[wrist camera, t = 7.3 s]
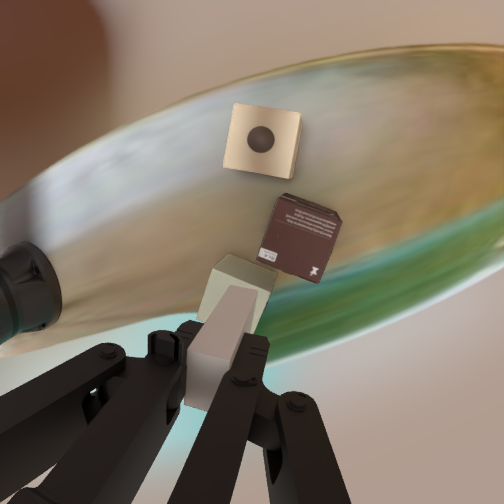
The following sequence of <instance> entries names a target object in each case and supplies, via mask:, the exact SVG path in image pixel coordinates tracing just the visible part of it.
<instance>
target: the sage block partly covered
mask: <svg viewBox="0 0 504 504" xmlns="http://www.w3.org/2000/svg"><path fill="white" fill-rule="evenodd" d="M277 274H278V273H276V272H273V271H271V270H268V269H266V268H263V267H261V266H258V265H256V264H254V263H251V262H249V261H246V260H244V259H241V258H239V257H236V256H234V255H232V254H229V253H228V254H227V255H226V256H225V257H224V258H223V259H222V260H221V261H220V262H219V263H217V264H216V265H215V266H214V267H213V268H212V271H211V274H210V277H209V280H208V283H207V286H206V289H205V293H204V296H203V299H202V302H201V305H200V308H199V311H198V314H197V317H196V319H197V320H199V321H201V322H204V323H205V322H206V320H207V319H208V317H209V316H210V314H211V313H212V311H213V310H214V308H215V307H216V305H217V304H218V302H219V301H220V299H221V298H222V296H223V295H224V293H225V292H226V290H227V289H228V287H229V286H230V285H234V286H239V287H243V288H248V289H253V290H258V294H257V300H256V305H255V311H254V316H253V322H252V327H251V332H250V334H253V333H254V331H255V329H256V326H257V324H258V322H259V319H260V317H261V315H262V312H264V310H265V308H266V305H267V303H268V302H267V301H268V298H269V296H270V294H271V291H272V288H273V285H274V283H275V280H276V277H277Z"/></svg>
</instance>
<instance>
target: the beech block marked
mask: <svg viewBox="0 0 504 504" xmlns="http://www.w3.org/2000/svg"><path fill="white" fill-rule="evenodd" d="M302 124H303V123H302V117H301V113H297V112H292V111H286V110H280V109H273V108H267V107H260V106H252V105H244V104H235V103H234V107H233V112H232V117H231V122H230V128H229V133H228V139H227V144H226V150H225V156H224V161H223V167H225V168H231V169H237V170H243V171H249V172H254V173H260V174H265V175H271V176H276V177H281V178H286V179H292V178H293V173H294V168H295V163H296V157H297V152H298V146H299V141H300V136H301V130H302Z"/></svg>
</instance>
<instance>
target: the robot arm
mask: <svg viewBox="0 0 504 504" xmlns="http://www.w3.org/2000/svg"><path fill="white" fill-rule="evenodd" d="M257 294H258V290H253V289H248V288H243V287H239V286H234V285H230V286H229V287H228V289H227V290H226V292H225V293H224V295H223V296H222V298H221V299H220V301H219V302H218V304H217V305H216V307H215V308H214V310H213V311H212V313H211V314H210V316H209V317H208V319H207V320H206V322H205V323H200V322H196V321H192V320H189V321H186V322H184V323H182V324H181V325H180V326H179V328H178V329H177V331H175V332H172V331H167V330H158V331H154V332H151V333H150V334H149V335H148V354H147V355H146V356H145V358H136V357H128V356H126V353H125V350H124V349H123V348H122V347H121V346H119V345H117V344H114V343H101V344H98V345H96V346H94V347H92V348H90V349H88V350H86V351H85V352H83V353H81V354H79V355H77V356H75V357H74V358H72V359H70V360H68V361H66V362H64V363H63V364H61V365H58V366H57V367H55V368H53V369H51V370H49V371H47V372H45V373H43V374H42V375H40V376H38V377H36V378H34V379H32V380H30V381H28V382H27V383H25V384H23V385H21V386H19V387H17V388H15V389H14V390H11V391H10V392H8V393H6V394H4V395H2V396H0V502H2V501H3V500H5V499H6V498H8V497H9V496H11V495H12V494H13V493H15V492H17V491H18V490H19V491H18V492H17V493H15V495H14V496H13V497H12V498H11V499H10V501H9V502H8V503H7V504H131V503H132V501H133V499H134V497H135V495H136V494H137V492H138V490H139V488H140V486H141V484H142V482H143V481H144V479H145V477H146V475H147V473H148V471H149V469H150V468H151V466H152V464H153V462H154V460H155V458H156V456H157V455H158V453H159V451H160V449H161V447H162V445H163V443H164V441H165V440H166V437H167V436H168V434H169V432H170V430H171V428H172V426H173V424H174V423H175V420H176V419H177V417H178V415H179V412H180V403H181V401H182V399H183V398H184V405H186V406H190V407H193V408H197V409H201V410H204V411H207V414H206V417H205V419H204V421H203V424H202V426H201V429H200V431H199V433H198V435H197V438H196V440H195V442H194V444H193V447H192V449H191V451H190V454H189V456H188V458H187V460H186V463H185V465H184V467H183V469H182V471H181V474H180V476H179V478H178V480H177V483H176V485H175V487H174V489H173V492H172V494H171V496H170V498H169V501H168V502H167V504H230V501H231V497H232V494H233V490H234V487H235V483H236V479H237V476H238V472H239V468H240V465H241V461H242V457H243V453H244V450H245V446H246V442H247V440H248V441H250V442H252V443H254V444H256V445H258V446H260V447H262V448H263V456H264V463H265V471H266V478H267V485H268V492H269V498H270V504H351V501H350V498H349V495H348V492H347V490H346V487H345V484H344V481H343V478H342V475H341V472H340V469H339V466H338V464H337V461H336V458H335V455H334V452H333V449H332V446H331V444H330V441H329V438H328V435H327V432H326V429H325V426H324V423H323V421H322V418H321V415H320V412H319V409H318V407H317V404H316V402H315V401H314V399H313V398H311V397H310V396H309V395H307V394H304V393H302V392H296V391H291V392H286V393H284V394H281V396H279V395H277V394H275V393H273V392H271V391H269V390H268V389H267V388H266V387H265V385H264V384H263V381H262V377H263V372H264V368H265V363H266V359H267V355H268V350H269V346H270V343H269V341H268V339H267V337H264V336H259V335H254V334H250V332H251V327H252V322H253V316H254V311H255V305H256V300H257ZM60 312H61V293H60V288H59V284H58V281H57V278H56V275H55V272H54V270H53V268H52V266H51V264H50V262H49V261H48V259H47V258H46V256H45V255H44V254H43V253H42V252H41V250H39V249H38V248H37V247H36V246H34V245H33V244H31V243H27V242H23V243H19V244H16V245H13V246H11V247H10V248H8V249H7V250H6V251H5V252H4V253H3V254H2V255H0V345H1V344H2V343H4V342H5V341H7V340H9V339H10V338H12V337H13V336H15V335H17V334H21V333H27V332H34V331H40V330H44V329H46V328H48V327H49V326H51V325H52V324H54V323H55V322H56V321H57V320H58V318H59V315H60ZM95 388H96V391H95V392H94V393H90V392H91V391H92V390H94V389H95ZM55 464H56V465H55ZM54 465H55V467H54V468H53V469H52V470H51V472H50V473H49V474H48V476H47V477H46V478H45V479H44V480H43V482H42V483H41V484H40V485H39V486H38V487H36V488H29V487H25V488H23V489H21V488H22V487H24V486H25V485H27V484H28V483H30V482H31V481H32V480H34V479H35V478H37V477H38V476H40V475H41V474H43V473H44V472H45V471H47V470H48V469H49V468H51V467H52V466H54Z"/></svg>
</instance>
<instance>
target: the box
mask: <svg viewBox="0 0 504 504" xmlns="http://www.w3.org/2000/svg"><path fill="white" fill-rule="evenodd" d="M342 223H343V222H342V221H341V219H340V218H339V216H338V214H337V212H335V211H333V210H330V209H328V208H325V207H323V206H321V205H318V204H315V203H313V202H310V201H307V200H305V199H301V198H299V197H296V196H293V195H290V194H288V193H285V194H283V195H282V196H281V197H280V198H278V199H277V201H276V204H275V206H274V209H273V212H272V215H271V218H270V221H269V224H268V227H267V230H266V233H265V235H264V238H263V241H262V244H261V247H260V250H259V252H258V255H257V258H256V261H257V262H260V263H262V264H265V265H268V266H270V267H273V268H276V269H279V270H281V271H283V272H285V273H287V274H291V275H295V276H298V277H300V278H303V279H306V280H308V281H311V282H314V283H319V282H320V280H321V277H322V275H323V272H324V270H325V267H326V265H327V262H328V260H329V257H330V255H331V253H332V250H333V247H334V244H335V242H336V239H337V236H338V233H339V231H340V228H341V226H342Z"/></svg>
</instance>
